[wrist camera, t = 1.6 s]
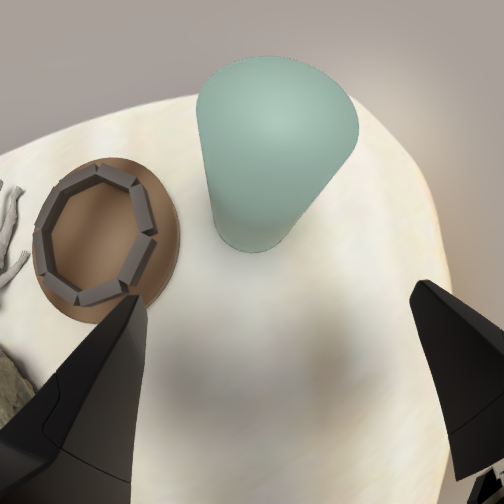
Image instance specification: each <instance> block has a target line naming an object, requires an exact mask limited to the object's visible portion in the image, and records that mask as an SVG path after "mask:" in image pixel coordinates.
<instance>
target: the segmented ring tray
mask: <svg viewBox="0 0 504 504" xmlns="http://www.w3.org/2000/svg"><path fill="white" fill-rule="evenodd" d="M34 225H35V229H34V233H33V243H32V256H33V264H34V269H35V274H36V277H37V280H38V282H39V285H40V287H41V289H42V291H43V292H44V294H45V295H46V297H47V299H48V300H49V301H50V302H51V303H52V304H53V306H54V307H56V308H57V309H58V310H59V311H60V312H61V313H63V314H65V315H66V316H68V317H70V318H72V319H74V320H77V321H80V322H84V323H91V324H99V323H100V322H101V321H102V320H103V319H104V318H105V317H106V316H107V314H108V313H109V312H110V311H111V310H112V309H113V308H114V307H115V306H116V305H117V304H118V303H119V302H120V301H121V300H122V299H123V298H124V297H125V296H126V295H128V294H139V295H141V297H142V299H143V303H144V306H145V309H146V308H147V307H148V306H149V305H150V304H152V303H153V302H154V301H155V299H156V298H157V297H158V296H159V295H160V294H161V292H162V291H163V290H164V288H165V287H166V285H167V283H168V281H169V280H170V278H171V276H172V273H173V271H174V268H175V265H176V262H177V258H178V253H179V247H180V228H179V221H178V217H177V213H176V210H175V207H174V205H173V203H172V201H171V199H170V197H169V195H168V193H167V191H166V190H165V188H164V186H163V184H162V183H161V182H160V180H159V179H158V178H157V177H156V176H155V175H154V174H153V173H152V172H151V171H150V170H148V169H147V168H146V167H144V166H143V165H141V164H139V163H137V162H134V161H131V160H128V159H123V158H102V159H98V160H94V161H91V162H88V163H86V164H83V165H81V166H80V167H78V168H76V169H74V170H73V171H72V172H70V173H69V174H68V175H66V176H65V177H64V178H63V179H61V180H59V183H58V184H57V185H56V186H55V187H53V188H52V190H51V192H50V194H49V196H48V197H47V199H46V201H45V202H44V204H43V206H42V208H41V210H40V213H39V215H38V218H37V220H36V222H35V224H34Z"/></svg>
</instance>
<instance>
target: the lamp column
mask: <svg viewBox="0 0 504 504" xmlns="http://www.w3.org/2000/svg"><path fill="white" fill-rule="evenodd" d="M196 115H197V123H198V129H199V136H200V142H201V148H202V154H203V161H204V167H205V173H206V178H207V184H208V190H209V196H210V201H211V207H212V212H213V218H214V223H215V227H216V229H217V231H218V233H219V235H220V236H221V238H222V239H223V240H224V241H225V242H226V243H227V244H229V245H230V246H231V247H233V248H235V249H237V250H240V251H243V252H249V253H257V252H263V251H266V250H269V249H271V248H273V247H274V246H276V245H277V244H278V243H279V242H280V241H281V240H282V239H283V238H284V237H285V236H286V234H287V233H288V232H289V231H290V229H291V228H292V227H293V226H294V225H295V223H296V222H297V221H298V220H299V218H300V217H301V216H302V215H303V214H304V212H305V211H306V210H307V209H308V207H309V206H310V205H311V204H312V202H313V201H314V200H315V199H316V197H317V196H318V195H319V194H320V192H321V191H322V190H323V189H324V187H325V186H326V185H327V184H328V182H329V181H330V180H331V179H332V177H333V176H334V175H335V174H336V172H337V171H338V170H339V169H340V167H341V166H342V165H343V164H344V162H345V161H346V160H347V159H348V157H349V156H350V155H351V153H352V152H353V150H354V148H355V146H356V143H357V140H358V135H359V122H358V116H357V113H356V110H355V107H354V105H353V103H352V101H351V100H350V98H349V96H348V95H347V94H346V92H345V91H344V90H343V89H342V88H341V86H340V85H339V84H338V83H336V82H335V81H334V80H333V79H332V78H331V77H329V76H328V75H326V74H325V73H324V72H322V71H320V70H318V69H317V68H315V67H313V66H311V65H308V64H306V63H303V62H300V61H297V60H294V59H290V58H284V57H276V56H259V57H250V58H245V59H242V60H238V61H235V62H233V63H231V64H228V65H226V66H225V67H223V68H221V69H220V70H218V71H217V72H216V73H214V74H213V75H212V76H211V77H210V78H209V79H208V80H207V81H206V83H205V84H204V86H203V87H202V89H201V91H200V93H199V96H198V99H197V105H196Z"/></svg>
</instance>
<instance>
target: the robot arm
mask: <svg viewBox="0 0 504 504" xmlns="http://www.w3.org/2000/svg"><path fill="white" fill-rule="evenodd" d="M409 303H410V307H411V310H412V314H413V317H414V320H415V324H416V328H417V331H418V335H419V338H420V342H421V345H422V347H423V350H424V353H425V356H426V359H427V362H428V365H429V368H430V371H431V374H432V377H433V381H434V384H435V387H436V391H437V394H438V398H439V401H440V405H441V409H442V413H443V417H444V421H445V425H446V429H447V434H448V439H449V444H450V449H451V454H452V459H453V465H454V472H455V479H456V481H459V480H462V479H464V478H466V477H468V476H470V475H472V474H475V473H477V472H479V471H481V470H483V469H485V468H487V467H489V466H491V465H492V467H491V468H489V469H488V470H486V471H485V472H484V473H482V474H481V475H480V476H478V477H477V478H476V481H475V483H474V486H473V489H472V491H471V494H470V496H469V499H468V501H467V504H504V331H503V330H502V329H500V328H499V327H497V326H496V325H495V324H493V323H492V322H491V321H489V320H488V319H486V318H485V317H484V316H482V315H481V314H479V313H478V312H477V311H475V310H474V309H472V308H471V307H469V306H468V305H466V304H465V303H463V302H462V301H461V300H459V299H458V298H456V297H454V296H453V295H452V294H450V293H449V292H447V291H445V290H444V289H442V288H441V287H439V286H438V285H436V284H435V283H433V282H432V281H430V280H427V279H426V280H419V281H418V282H417V283H416V285H415V288H414V290H413V292H412V294H411V296H410V299H409ZM147 322H148V317H147V312H146V309H145V306H144V303H143V299H142V297H141V295H139V294H128V295H126V296H125V297H124V298H123V299H122V300H121V301H120V302H119V303H118V304H117V305H116V306H115V307H114V308H113V309H112V310H111V311H110V312H109V313H108V314H107V316H106V317H105V318H104V319H103V320H102V321H101V322H100V323H99V324H98V325H97V326H96V327H95V328H94V329H93V330H92V331H91V332H90V334H89V335H88V336H87V337H86V338H85V339H84V340H83V341H82V342H81V343H80V344H79V345H78V347H77V348H76V349H75V350H74V351H73V352H72V353H71V354H70V355H69V357H68V358H67V359H66V360H65V361H64V362H63V363H62V364H61V366H60V367H59V368H58V369H57V370H56V373H54V374H53V375H52V376H51V377H50V378H49V379H48V381H47V382H46V383H45V384H44V385H43V386H42V387H41V388H40V390H39V391H38V392H37V393H36V394H35V395H34V396H33V397H32V398H31V399H30V400H29V401H28V402H27V403H26V404H25V405H24V406H23V407H22V408H21V409H20V410H19V411H18V412H17V413H16V414H15V415H14V416H13V417H12V418H11V419H10V420H9V421H8V422H7V423H6V425H5V426H4V427H2V428H1V429H0V504H130V502H131V477H132V462H133V450H134V439H135V430H136V421H137V413H138V405H139V398H140V391H141V385H142V378H143V372H144V365H145V350H146V335H147Z"/></svg>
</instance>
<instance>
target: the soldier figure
mask: <svg viewBox="0 0 504 504" xmlns="http://www.w3.org/2000/svg"><path fill="white" fill-rule="evenodd" d="M2 186H3V181H2V180H1V179H0V191H1V188H2ZM21 192H22V189H21V188H20V187H18V186H17V187H16V189H15V191H14V193H13V195H12V198H11V205H10V208H9V211H8V213H7V216H6V218H5V222H4V225H3V228H2V230H1V232H0V270H2V268H3V266H4V255H5V254H6V251H7V250H6V248H7V246H8V244H9V240H10V237H11V234H12V228H13V225H14V224H15V219H16V218H17V215H16V199H17V198H18V196H19V195H20V194H21ZM25 252H26V253H25ZM22 254H23V255H22ZM24 254H25V255H24ZM26 254H27V255H26ZM23 256H24V257H23ZM27 256H28V253H27V251H24V253H23V251H22V253H21V255H20V258H19V260H18V262H16V263H15V264H14V265H13V266H12V267H10V268H9V270H8V271H7V272H5V273H4V274H2V275H1V276H0V289H1V288H2V287H3V286H4V285H5V284H6V283H7V282H8V281H9V280H10V279H12V278H13V277H14V276H15V274H16V273H17V272H18V271H19V269H20V268H21V267H22V264H23V263H24V262H25V260H26V258H27Z"/></svg>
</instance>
